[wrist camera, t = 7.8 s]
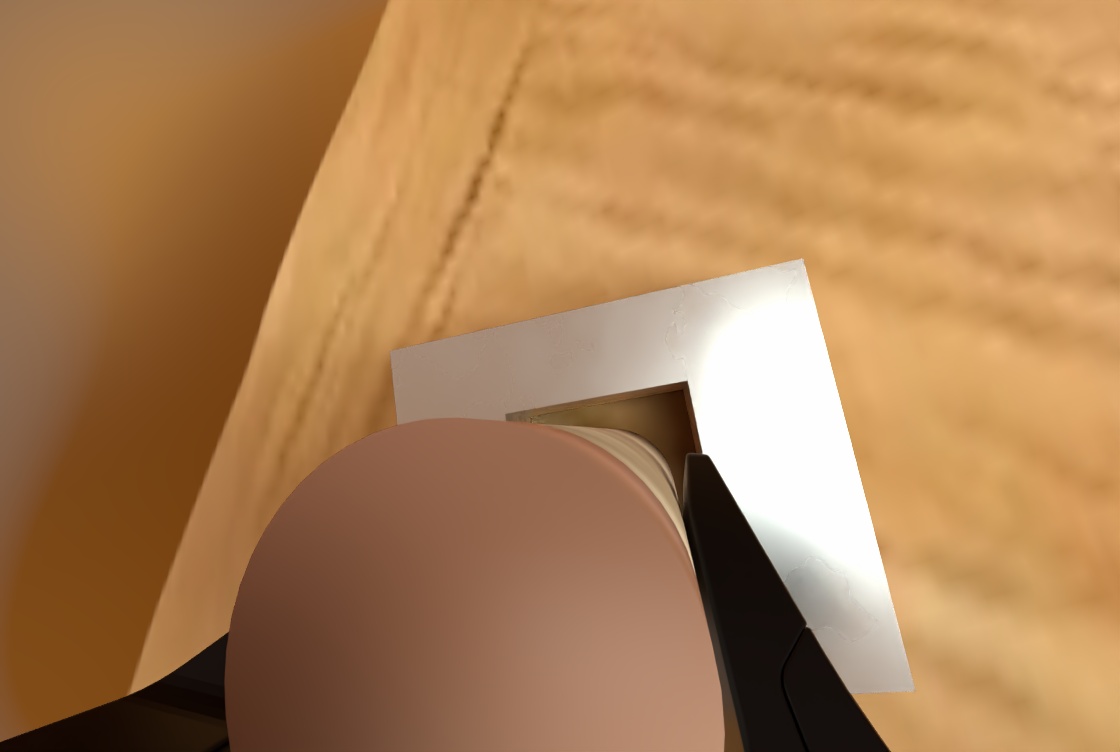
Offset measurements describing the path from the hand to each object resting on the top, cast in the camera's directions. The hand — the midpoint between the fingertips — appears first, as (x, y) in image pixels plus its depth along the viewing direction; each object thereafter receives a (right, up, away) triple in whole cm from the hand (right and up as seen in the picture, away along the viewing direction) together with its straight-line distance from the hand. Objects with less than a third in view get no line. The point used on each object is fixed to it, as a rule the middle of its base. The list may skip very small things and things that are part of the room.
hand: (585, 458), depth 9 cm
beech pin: (+1, -2, +6) cm, 7 cm away
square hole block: (+2, -2, +8) cm, 8 cm away
